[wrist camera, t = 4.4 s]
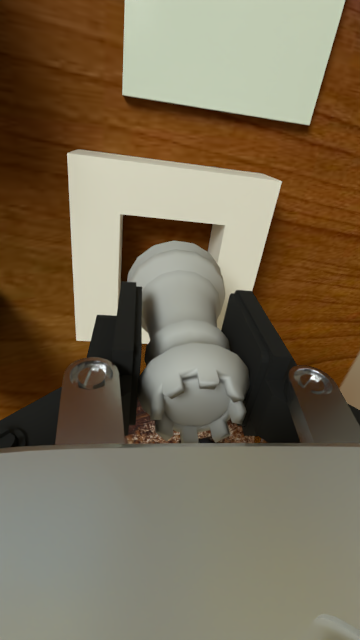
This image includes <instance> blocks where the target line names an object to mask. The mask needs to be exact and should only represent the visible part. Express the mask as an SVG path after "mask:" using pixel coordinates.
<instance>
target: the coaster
mask: <svg viewBox="0 0 360 640" xmlns="http://www.w3.org/2000/svg"><path fill="white" fill-rule="evenodd" d="M344 3H345V0H125V17H124V54H123V90H122V95H123V96H127V97H133V98H139V99H146V100H152V101H158V102H164V103H170V104H177V105H183V106H189V107H195V108H201V109H208V110H214V111H220V112H226V113H232V114H239V115H245V116H251V117H257V118H263V119H269V120H276V121H282V122H288V123H294V124H300V125H310V121H311V118H312V114H313V111H314V107H315V104H316V100H317V97H318V94H319V90H320V87H321V83H322V80H323V76H324V73H325V69H326V66H327V62H328V59H329V55H330V52H331V48H332V45H333V41H334V38H335V34H336V31H337V27H338V24H339V21H340V17H341V14H342V10H343V7H344Z"/></svg>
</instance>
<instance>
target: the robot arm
mask: <svg viewBox="0 0 360 640" xmlns="http://www.w3.org/2000/svg"><path fill="white" fill-rule="evenodd" d="M221 331H222V332H223V334H224V335H225V336H226V338H227V339H228V340H229V347H230V351H231V352H233V353H235V354H237V355H238V356H239V357H240V359H241V360H242V361H243V362H244V364H245V365H246V366H247V368H248V371H249V379H250V386H249V389H248V391H247V394H246V397H245V399H244V401H243V403H244V406H245V409H246V411H247V412H246V414H245V417H244V419H243V422H242V424H237V423H236V424H237V426H241V427H242V430H243V433H244V436H259V437H261V443H158V444H125V436H128V431H129V425H135V424H136V412H137V400H138V388H139V376H140V363H141V346H142V287H139V286H136V282H124V281H121V288H120V296H119V303H118V310H117V316H112V315H97V317H96V321H95V325H94V329H93V333H92V338H91V342H90V346H89V350H88V355H87V358H83V359H80V360H77V361H75V362H74V363H72V364H70V365H69V366H68V368H67V369H66V370H65V372H64V375H63V382H62V387H60V388H59V389H57V390H55V391H53V392H51V393H49V394H48V395H46V396H44V397H42V398H40V399H39V400H37V401H35V402H33V403H31V404H29V405H28V406H26V407H24V408H22V409H20V410H19V411H17V412H15V413H13V414H11V415H10V416H8V417H6V418H4V419H2V420H0V640H360V410H358V409H356V408H354V407H353V406H351V405H349V404H347V402H346V400H345V399H344V397H343V395H342V393H341V392H340V390H339V388H338V386H337V384H336V383H335V381H334V380H333V379H332V378H331V377H330V376H329V375H328V374H326V373H325V372H323V371H321V370H319V369H317V368H314V367H311V366H307V365H298V366H297V364H296V363H295V361H294V359H293V358H292V356H291V354H290V353H289V351H288V350H287V348H286V346H285V345H284V343H283V341H282V340H281V338H280V336H279V335H278V333H277V331H276V330H275V328H274V327H273V325H272V324H271V322H270V320H269V319H268V317H267V315H266V314H265V312H264V310H263V309H262V307H261V305H260V304H259V302H258V301H257V299H256V297H255V296H254V294H253V292H252V291H245V290H236V291H235V293H231V294H230V296H229V300H228V304H227V308H226V312H225V316H224V321H223V325H222V329H221Z"/></svg>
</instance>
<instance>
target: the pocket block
mask: <svg viewBox="0 0 360 640" xmlns="http://www.w3.org/2000/svg"><path fill="white" fill-rule="evenodd" d="M67 162H68V182H69V202H70V222H71V242H72V262H73V282H74V302H75V322H76V340H77V341H91V338H92V333H93V329H94V325H95V321H96V317H97V315H112V316H117V310H118V303H119V296H120V288H121V260H122V230H123V215H133V216H142V217H152V218H161V219H171V220H180V221H189V222H199V223H208V224H212V230H211V236H210V241H209V247H208V252H209V253H210V254H211V256H212V257H213V258H214V260H215V261H216V263H217V264H218V266H219V267H220V270H221V275H222V277H223V281H224V288H225V300H224V303H223V307H222V310H221V314H220V315H219V317H218V319H217V328H219V329H220V330H221V329H222V325H223V321H224V316H225V312H226V308H227V304H228V300H229V296H230V294H231V293H235V291H236V290H245V291H252V290H253V286H254V283H255V279H256V275H257V272H258V268H259V264H260V261H261V257H262V253H263V250H264V246H265V242H266V238H267V235H268V231H269V227H270V224H271V220H272V216H273V213H274V209H275V205H276V202H277V198H278V194H279V190H280V187H281V183H282V181H280V180H277V179H275V178H272V177H270V176H267V175H265V174H260V173H253V172H245V171H238V170H230V169H223V168H215V167H208V166H200V165H193V164H185V163H178V162H171V161H163V160H156V159H148V158H141V157H133V156H126V155H118V154H111V153H103V152H96V151H88V150H81V149H78V150H75V151H72V152H69V153H67ZM149 342H150V338H149V334H148V332H146V331H145V330H144V329H143V328H142V344H148V343H149Z"/></svg>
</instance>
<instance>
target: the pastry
mask: <svg viewBox="0 0 360 640" xmlns="http://www.w3.org/2000/svg"><path fill="white" fill-rule="evenodd" d="M227 424H228V428H229V432H230V436H228V437H226V438H224V439H222V440H220V441H218V442H216V443H254V438H255V437H254V436H244V433H243V430H242V427H241V426H237V424H236V423H232V421H231V418H230V419H229V420H228V421H227ZM197 434H198V440H199V442H198V443H215V441H214V440H213V438H212V435H211V430H208V431H203V432H199V433H197ZM158 443H181V439H180V432H177V431H174V430H173V436H172V437H171V438H170V439H168V440H167V441H165V440H164V439H163V438H162V437H160V436H159V435H158V434H157V433H156V432H155V420H150V415H149V414H148V413H147V412H145V411H144V410H143V409H142V406H141V404H140V402H139V399H138V400H137V412H136V424H135V425H129V431H128V436H125V444H158Z"/></svg>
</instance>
